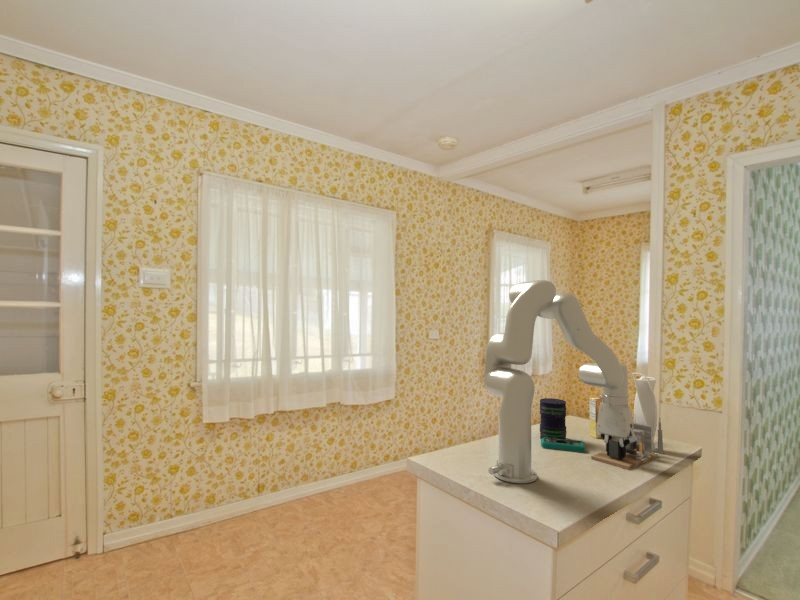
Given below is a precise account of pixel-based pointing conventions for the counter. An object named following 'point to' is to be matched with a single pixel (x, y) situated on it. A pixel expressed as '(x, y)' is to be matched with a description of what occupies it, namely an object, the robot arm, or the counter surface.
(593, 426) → the candy box
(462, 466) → the counter surface
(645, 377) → the skyscraper
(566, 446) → the digital multimeter
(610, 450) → the plunger
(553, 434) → the storage jar
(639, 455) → the needle
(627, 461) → the base
